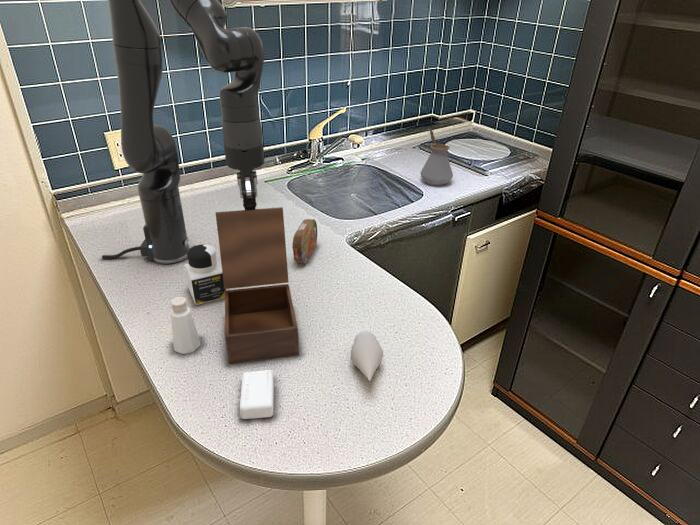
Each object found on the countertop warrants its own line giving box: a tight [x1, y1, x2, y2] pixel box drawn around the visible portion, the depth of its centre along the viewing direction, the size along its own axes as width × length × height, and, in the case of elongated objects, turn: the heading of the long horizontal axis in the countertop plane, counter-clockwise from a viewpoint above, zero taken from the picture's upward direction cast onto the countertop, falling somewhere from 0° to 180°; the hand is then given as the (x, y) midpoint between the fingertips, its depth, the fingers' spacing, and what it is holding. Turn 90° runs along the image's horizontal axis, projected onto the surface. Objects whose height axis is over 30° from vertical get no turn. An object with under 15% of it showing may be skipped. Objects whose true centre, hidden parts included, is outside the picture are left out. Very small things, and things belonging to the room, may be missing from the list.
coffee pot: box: [419, 128, 454, 187], centre depth 177 cm, size 21×12×15 cm, turn 4°
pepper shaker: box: [170, 296, 201, 355], centre depth 96 cm, size 5×5×11 cm
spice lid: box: [215, 206, 289, 290], centre depth 102 cm, size 16×13×1 cm
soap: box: [239, 369, 275, 420], centre depth 86 cm, size 9×6×3 cm, turn 7°
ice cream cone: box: [350, 330, 384, 382], centre depth 92 cm, size 6×6×15 cm
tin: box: [291, 218, 318, 264], centre depth 128 cm, size 15×3×8 cm, turn 168°
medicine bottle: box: [184, 243, 227, 306], centre depth 111 cm, size 7×7×12 cm
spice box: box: [224, 283, 300, 365], centre depth 100 cm, size 15×13×7 cm
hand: (251, 221), depth 105 cm, fingers closed
